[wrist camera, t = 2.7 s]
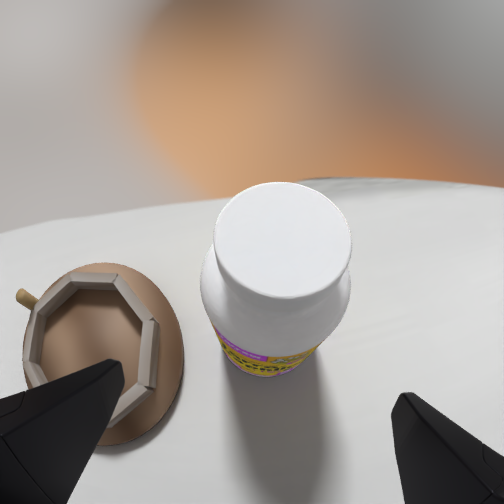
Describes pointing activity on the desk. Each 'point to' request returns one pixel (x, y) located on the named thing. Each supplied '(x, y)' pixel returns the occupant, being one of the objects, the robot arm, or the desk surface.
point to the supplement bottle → (276, 276)
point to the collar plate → (107, 340)
